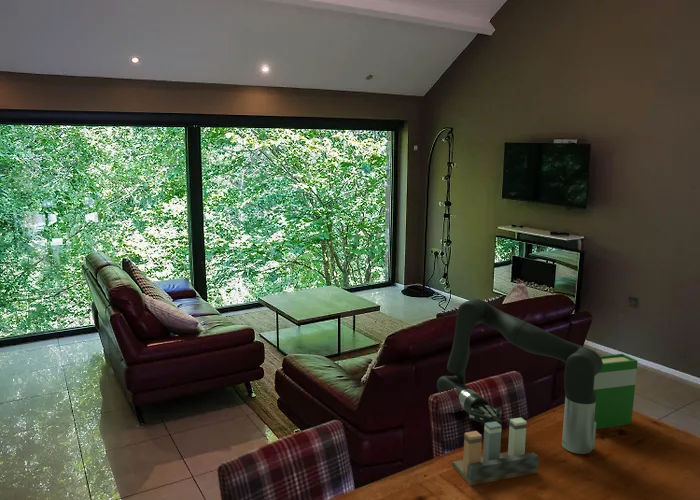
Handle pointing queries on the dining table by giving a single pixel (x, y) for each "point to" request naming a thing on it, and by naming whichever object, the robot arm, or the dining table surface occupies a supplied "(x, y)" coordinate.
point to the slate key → (492, 441)
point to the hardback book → (615, 391)
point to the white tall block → (517, 437)
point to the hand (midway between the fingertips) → (499, 424)
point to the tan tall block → (471, 449)
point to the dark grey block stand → (498, 468)
